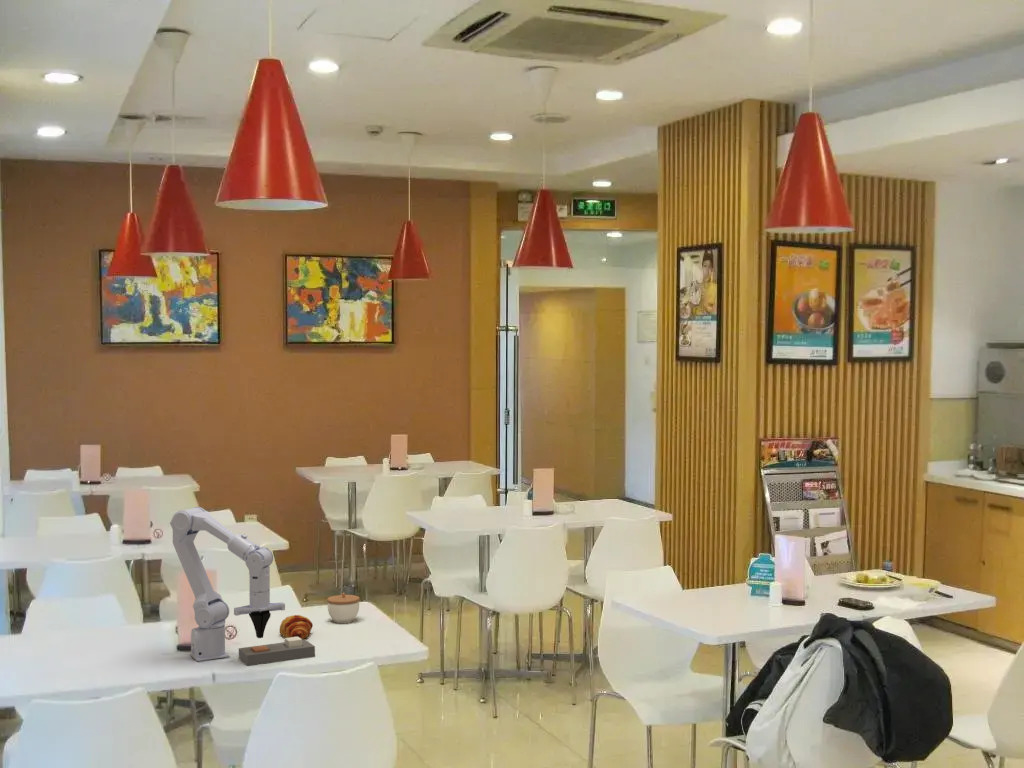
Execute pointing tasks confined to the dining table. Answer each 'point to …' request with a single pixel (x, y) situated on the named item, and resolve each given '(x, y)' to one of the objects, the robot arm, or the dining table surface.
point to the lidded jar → (343, 607)
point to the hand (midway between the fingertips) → (259, 637)
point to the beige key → (293, 642)
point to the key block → (276, 653)
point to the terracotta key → (259, 649)
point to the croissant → (296, 626)
